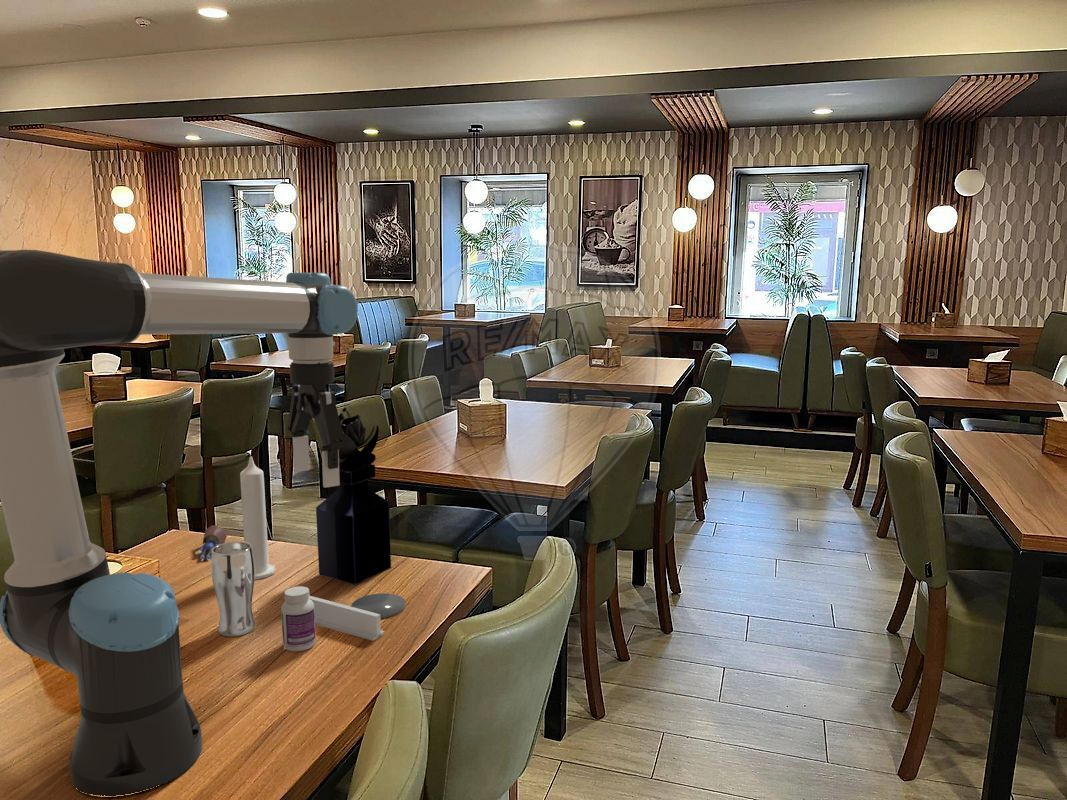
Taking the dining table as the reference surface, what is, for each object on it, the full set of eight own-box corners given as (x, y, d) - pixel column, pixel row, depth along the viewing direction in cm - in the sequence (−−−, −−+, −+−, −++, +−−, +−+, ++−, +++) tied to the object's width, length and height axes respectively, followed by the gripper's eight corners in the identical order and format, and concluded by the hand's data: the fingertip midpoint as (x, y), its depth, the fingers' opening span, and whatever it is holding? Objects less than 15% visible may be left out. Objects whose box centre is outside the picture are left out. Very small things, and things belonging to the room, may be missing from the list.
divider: (373, 641, 132) (372, 618, 132) (295, 618, 141) (294, 597, 140) (384, 633, 135) (384, 612, 134) (308, 612, 143) (306, 591, 143)
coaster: (382, 623, 139) (382, 620, 139) (339, 611, 144) (339, 608, 143) (416, 602, 148) (416, 599, 147) (375, 592, 152) (375, 589, 152)
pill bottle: (323, 642, 132) (320, 588, 130) (298, 655, 127) (295, 600, 126) (301, 634, 135) (298, 582, 133) (276, 647, 130) (273, 592, 129)
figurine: (219, 568, 170) (230, 541, 181) (217, 546, 168) (228, 521, 179) (193, 569, 169) (205, 543, 180) (190, 548, 167) (203, 522, 179)
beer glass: (243, 640, 133) (238, 556, 130) (207, 636, 134) (201, 553, 132) (265, 622, 139) (260, 542, 137) (230, 618, 141) (225, 539, 138)
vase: (361, 553, 173) (355, 398, 168) (400, 563, 167) (395, 403, 162) (312, 574, 161) (304, 408, 156) (353, 586, 155) (346, 414, 150)
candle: (268, 579, 158) (261, 460, 154) (234, 579, 159) (226, 460, 155) (280, 566, 165) (274, 452, 161) (247, 566, 166) (240, 452, 161)
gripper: (362, 366, 129) (365, 489, 133) (305, 354, 149) (309, 462, 152) (319, 368, 125) (323, 496, 128) (266, 356, 144) (271, 467, 148)
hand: (316, 478), depth 140 cm, fingers open, 13 cm apart
